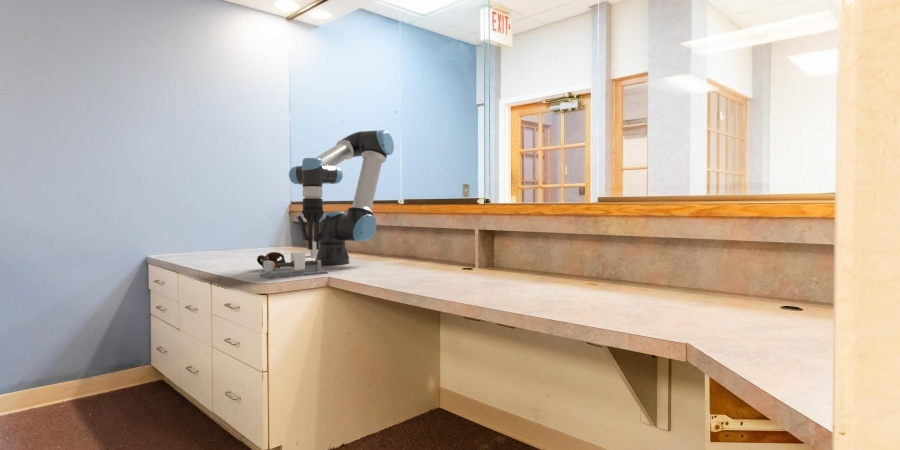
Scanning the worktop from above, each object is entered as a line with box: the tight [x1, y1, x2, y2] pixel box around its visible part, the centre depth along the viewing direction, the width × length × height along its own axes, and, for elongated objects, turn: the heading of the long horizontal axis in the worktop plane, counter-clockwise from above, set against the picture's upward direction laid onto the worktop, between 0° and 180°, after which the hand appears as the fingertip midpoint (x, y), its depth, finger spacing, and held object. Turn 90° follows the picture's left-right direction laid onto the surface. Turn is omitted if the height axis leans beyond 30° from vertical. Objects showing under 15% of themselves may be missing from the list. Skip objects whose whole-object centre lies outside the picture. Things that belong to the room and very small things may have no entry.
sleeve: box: [290, 251, 306, 271], centre depth 197 cm, size 4×5×6 cm
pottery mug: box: [256, 251, 287, 269], centre depth 211 cm, size 12×10×8 cm
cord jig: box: [259, 259, 329, 279], centre depth 196 cm, size 23×10×6 cm, turn 125°
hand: (313, 258), depth 200 cm, fingers closed
